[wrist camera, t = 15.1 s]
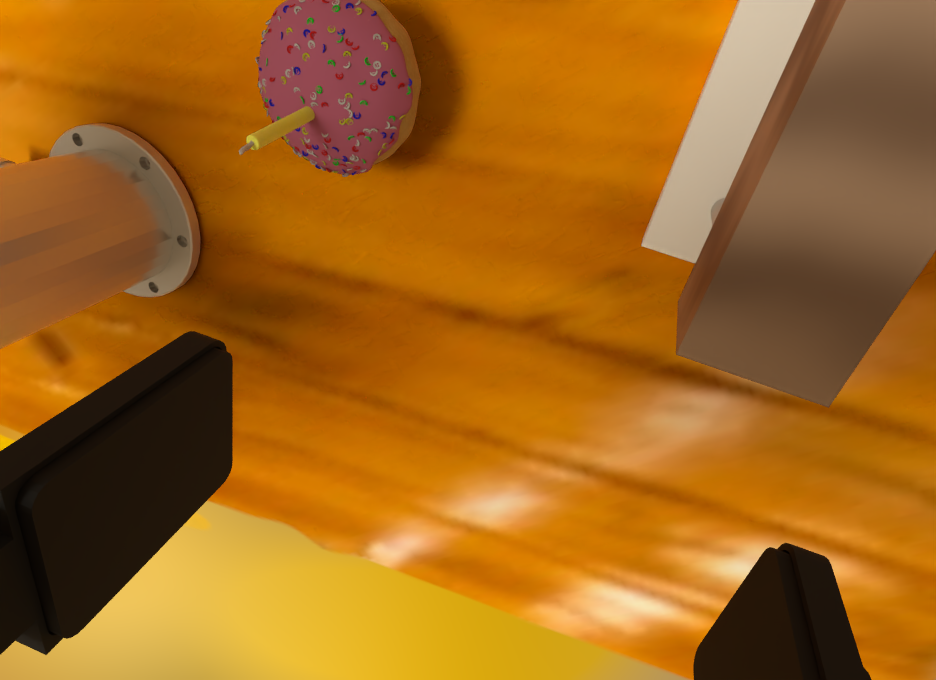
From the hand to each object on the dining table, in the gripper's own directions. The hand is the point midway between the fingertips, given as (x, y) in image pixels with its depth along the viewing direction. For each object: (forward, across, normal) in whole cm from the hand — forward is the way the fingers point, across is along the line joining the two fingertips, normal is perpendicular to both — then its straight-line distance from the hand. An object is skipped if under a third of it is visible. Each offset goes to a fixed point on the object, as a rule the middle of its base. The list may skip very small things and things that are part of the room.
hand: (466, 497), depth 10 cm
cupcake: (+26, +14, -2) cm, 30 cm away
